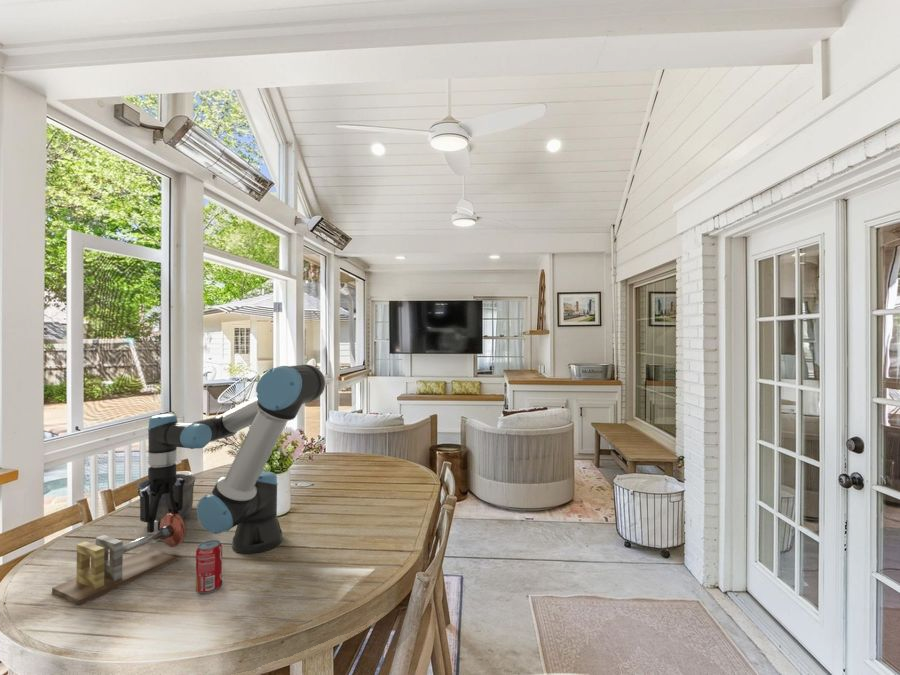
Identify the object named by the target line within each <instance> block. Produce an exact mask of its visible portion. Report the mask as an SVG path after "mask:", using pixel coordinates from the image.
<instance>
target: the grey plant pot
mask: <svg viewBox="0 0 900 675" xmlns="http://www.w3.org/2000/svg"><path fill="white" fill-rule="evenodd" d="M175 476H176V478H177V479H178V478H180V479H184V480H185V482H184V485H183V508H182V510H179V511H178V512H179V513H178V514H179V515H180V516H181V517H182V519H183V520H184V518H186V517H187V516H188V515H189V514H190V512H191V510H192V507H193V503H194V502H193V501H194V495H193V494H194V486H195V482H196V476H194V475H192V476H191V475H184V474H176V475H175ZM148 483H149V479H148V478H147V479H145V480H142V481H139V482H138V483H137V485H136V487H137V490H138V491H139V490H140V489H141V490H143V489H144V488H146V487H147V485H148ZM174 490H175V484H174V486H173V491H174ZM149 493H150V494H149V505H150V501H151V497H150V496H151V491H149ZM173 495H174V494H173ZM167 514H170V513H169V511H168V507H167V503H166V498H165V495H164V494H163V495H162V496H161V499H160V501H159V505H158V510H157V514H156V519H155V520H156V521H158V524H160V522H161V520H162V518H163V517H164V516H165V515H167Z"/></svg>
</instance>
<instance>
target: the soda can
mask: <svg viewBox="0 0 900 675" xmlns="http://www.w3.org/2000/svg"><path fill="white" fill-rule="evenodd" d="M222 584H223V544H222V543H221V540H218V539H211V540H205V541H202V542H201V543H199V544H198V545H197V549H196V550H195V591H196V592H198V593H199V594H203V595H204V594H205V595H206V594H211V593H213V592H216V591H217V590H218V589H219V588H220V587H221V586H222Z"/></svg>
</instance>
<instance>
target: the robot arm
mask: <svg viewBox="0 0 900 675" xmlns="http://www.w3.org/2000/svg"><path fill="white" fill-rule="evenodd" d="M325 387H326V379H325V376H324V373H323V372H322V371H321V370H320V369H319V368H317V367H316V366H313V365H312V364H300V365H299V364H298V365H281V366H276V367H274V368H270V369H268V370H267V371H265V372H264V373H263V374H261V376H260V377H259V379H258V381H257V383H256V386H255V392H256V393H257V394H256V396H255V397H254V398H252V399H250V400H248V401H246V402H244V403H241V404H240V405H237V406H235V407H234V408H231V409H229V410H228V411H226V412H223V413H222V414H219V415H217V416H215V417H210V418H206V419H202V420H196V421H192V422H178V421H179V420H178V416H177V415H176V414H173V413H166V414H165V413H163V414H156V415H152V416H151V417H150V418H149V420H148V428H147V431H148V436H147V437H148V438H147V439H148V442H147V443H148V447H147V449H148V467H147V477H148V478H147V479H149V483H148V485H147V487H146V488H144V489H143V490H141V489H140V490H138V491H137V493H138V496H139V507H140V508H139V516H140V517H139V519H140V520H139V521H141V522H143V523H147V524H146V530H147V533H149V535H150V534H153V533H156V532H158V530H159V529H158V528H159V523H158V521H156V520H155V519H156V514H157V510H158V505H159V501H160V499H161V496H162V495H163V494H164V495H165V498H166V503H167V507H168V511H169V513H177V514H178V513H179V512H178V511H179V510H182V508H183V485H184V482H185V480H184V479H180V478H178V479H177V478H176V476H175V475H176V472H177V463H176V462H178V460H177V459H178V457H177V456H178V455H177V452H178V451H177V449H178V448H184V449H190V450H193V449H194V450H195V449H202V448H205V447H206V446H208V445H209V443H212V442H214V441H218V440H221V439H227V438H230V437H232V436H234V435H236V434H237V433H238V432H239V431H241V430H243V429H246V428H247V427H249V429H248V431H247V434H246V436H244V439H243V441H242V442H241V446H240V447H239V450H238V452H237V453H236V455H235V457H234V460H233V461H232V464H231V465H230V467H229V470H228V471H227V473H226V475H223V476H220V478H219V479H218V480H217V481H216V483H215V485H214V487H213V489H212V491H211V493H208V494H205V495H204V496H203V497H202V498H201V499H200V500H199V501H198V503H197V506H196V516H197V518H198V522H199V524H200V525H201V526H202V528H203V529H204V530H206V531H207V532H209V533H211V534H215V535H217V534H222V533H223V532H227V531H230V530H231V529H232V528H234V527H236V528H235V532H234V536H233V537H232V541H231V542H232V544H231V545H232V546H231V547H232V550H233V551H234V552H236V553H239V554H256V553H261V552H266V551H268V550H271V549H274V548H276V547H278V546H279V545H280V544H281V543H282V541H283V531H282V529H281V525H280V522H279V520H278V514H277V513H278V511H277V510H278V479H277V478H278V477H277V474H276V473H274V472H273V471H267V470H263V469H264V468H265V466H266V464H267V462H268V460H269V459H270V456H271V454H272V453H273V451H274V449H275V446H276V445H277V443H278V440H279V439H280V437H281V435H282V433H283V431H284V429H285V427H286V425H287V423H288V421H289V422H290V421H292V420H295V418H296V417H297V415H298V413H299V411H300V409H301V407H302V405H304V404H308V403H311V402H314V401H315V400H317V399H318V398H320V397H321V396H322V395H323V393H324V390H325ZM174 484H175V490H174V491H173V486H174ZM149 491H151V496H150V497H151V501H150V505H149V494H150V493H149ZM173 494H174V495H173ZM167 515H168V514H167ZM158 540H159V539H158ZM158 540H155V541H153V542H152V543H153V544H156V543H159V541H158Z"/></svg>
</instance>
